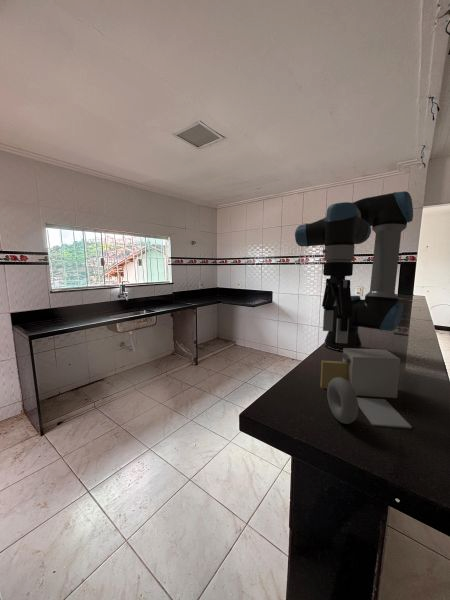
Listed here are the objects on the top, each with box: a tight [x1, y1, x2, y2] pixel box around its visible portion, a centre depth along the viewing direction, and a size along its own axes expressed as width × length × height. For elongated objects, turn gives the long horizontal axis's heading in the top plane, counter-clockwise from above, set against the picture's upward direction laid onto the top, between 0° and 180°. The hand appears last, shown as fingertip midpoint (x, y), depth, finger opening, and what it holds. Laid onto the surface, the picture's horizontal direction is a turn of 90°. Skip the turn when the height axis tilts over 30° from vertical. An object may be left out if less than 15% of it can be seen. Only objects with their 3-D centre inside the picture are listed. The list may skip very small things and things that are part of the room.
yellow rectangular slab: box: [319, 360, 349, 390], centre depth 74 cm, size 2×11×8 cm, turn 82°
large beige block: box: [341, 348, 401, 399], centre depth 73 cm, size 8×13×11 cm, turn 82°
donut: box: [326, 377, 359, 425], centre depth 58 cm, size 10×4×10 cm, turn 4°
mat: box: [357, 397, 413, 429], centre depth 62 cm, size 12×8×1 cm, turn 172°
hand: (333, 336), depth 73 cm, fingers open, 13 cm apart
